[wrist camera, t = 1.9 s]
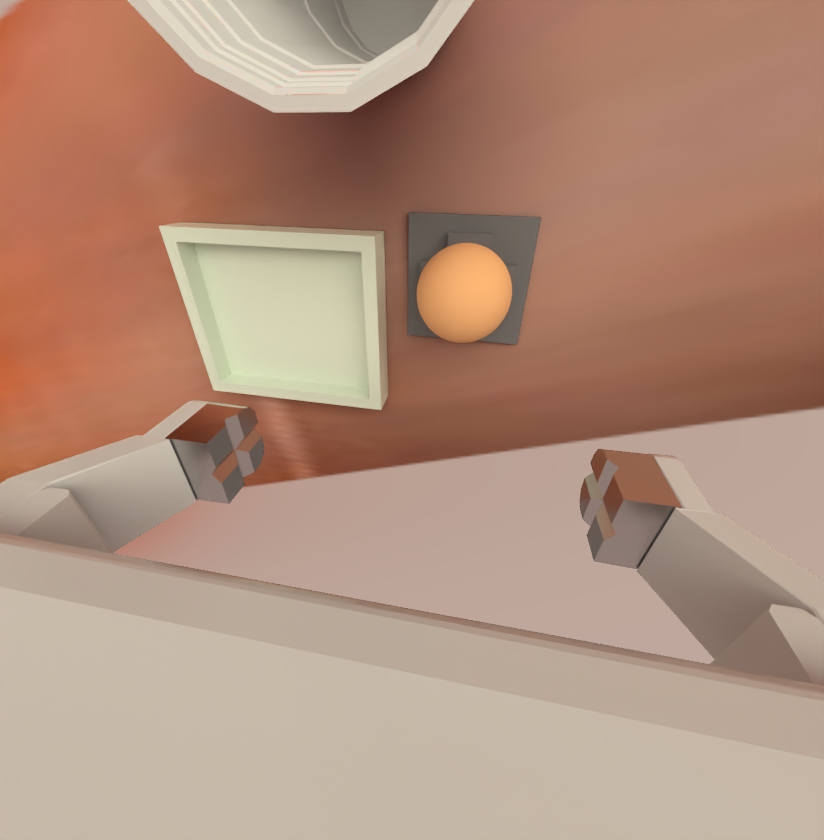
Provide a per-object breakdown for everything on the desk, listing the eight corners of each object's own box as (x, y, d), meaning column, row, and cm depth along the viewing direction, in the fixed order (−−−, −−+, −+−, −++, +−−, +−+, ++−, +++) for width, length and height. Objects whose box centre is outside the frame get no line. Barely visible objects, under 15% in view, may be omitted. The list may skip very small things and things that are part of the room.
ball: (517, 238, 20) (523, 256, 16) (503, 327, 23) (504, 362, 19) (426, 233, 21) (408, 249, 16) (423, 321, 23) (407, 353, 19)
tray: (384, 231, 21) (374, 236, 20) (388, 395, 27) (381, 410, 26) (182, 221, 23) (158, 225, 21) (229, 377, 29) (213, 390, 28)
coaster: (540, 217, 19) (542, 219, 19) (516, 342, 23) (517, 348, 23) (409, 212, 20) (406, 214, 20) (408, 333, 24) (405, 338, 24)
